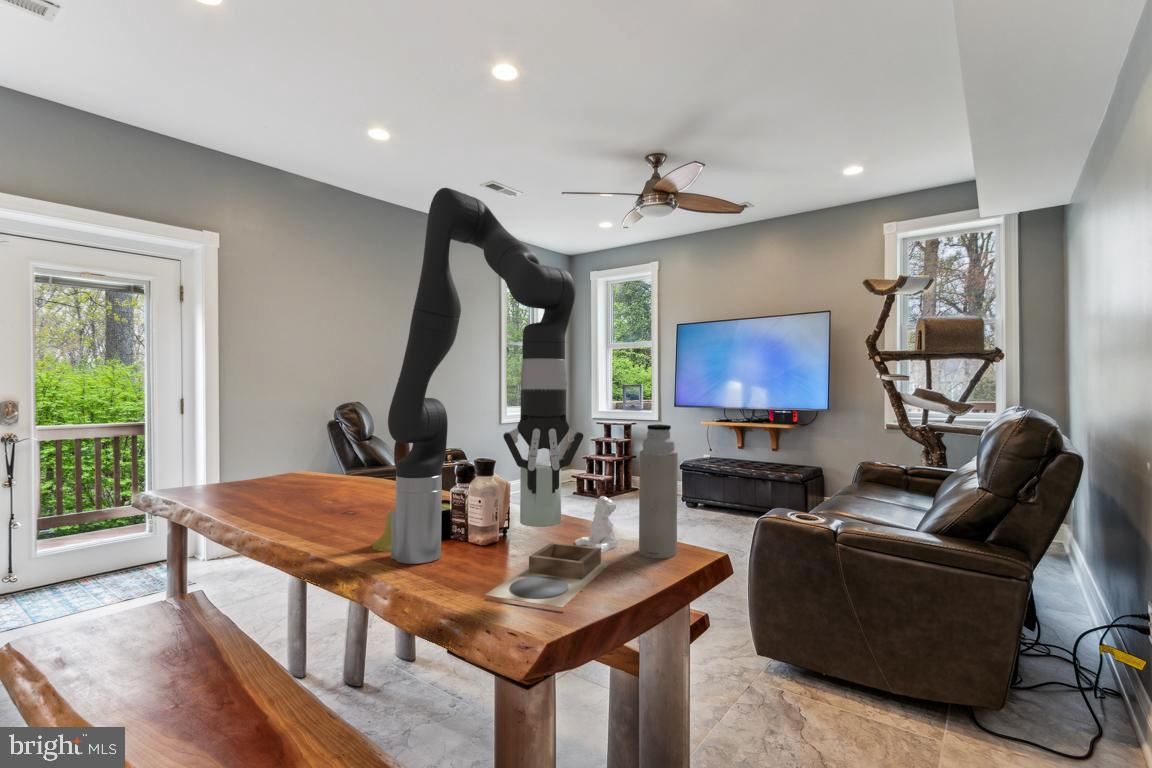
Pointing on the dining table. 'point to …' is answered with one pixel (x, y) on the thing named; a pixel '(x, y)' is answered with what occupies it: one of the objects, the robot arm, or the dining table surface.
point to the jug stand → (552, 576)
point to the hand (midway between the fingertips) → (542, 492)
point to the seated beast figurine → (601, 527)
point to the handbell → (385, 539)
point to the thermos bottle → (658, 494)
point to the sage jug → (540, 498)
